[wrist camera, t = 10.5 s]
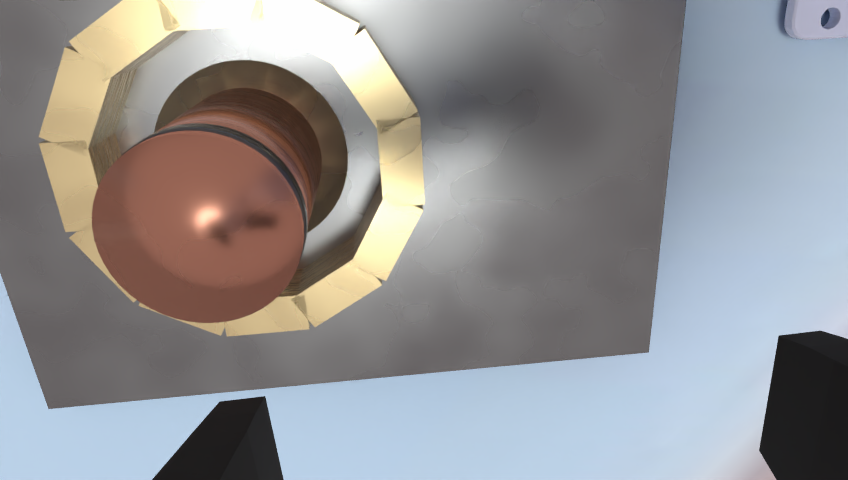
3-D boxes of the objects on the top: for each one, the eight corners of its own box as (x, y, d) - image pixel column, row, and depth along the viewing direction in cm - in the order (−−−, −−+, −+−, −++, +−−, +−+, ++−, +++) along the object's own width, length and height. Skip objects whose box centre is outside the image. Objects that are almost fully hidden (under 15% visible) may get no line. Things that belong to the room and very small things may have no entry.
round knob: (346, 130, 15) (337, 192, 11) (287, 248, 16) (255, 351, 12) (207, 59, 14) (131, 93, 10) (154, 190, 15) (62, 276, 11)
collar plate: (688, -178, 14) (748, -210, 12) (638, 338, 19) (672, 383, 17) (-122, -146, 13) (-221, -173, 11) (61, 392, 18) (19, 446, 16)
